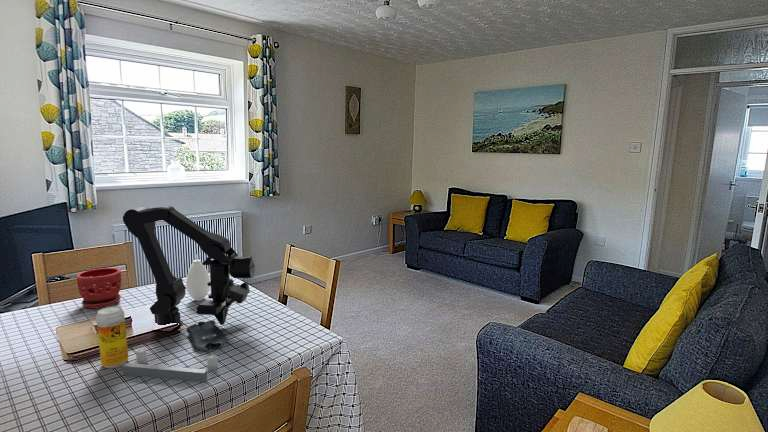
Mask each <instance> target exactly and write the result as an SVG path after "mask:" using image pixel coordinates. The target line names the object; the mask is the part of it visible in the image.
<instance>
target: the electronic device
mask: <svg viewBox="0 0 768 432" xmlns="http://www.w3.org/2000/svg"><path fill="white" fill-rule="evenodd" d="M185 332H187V333H188V336H189V338H190V339H191V341H192V346H193V347H194V349H195V350H198V351H199V352H200V351H201V352H202V351H203V352H207V351H209V352H212V351H214V350H217V349H220V348H221V347H223V346H224V345H225V344H226V343H227V341H228V340H227V335H226V333H225V332H224V331H223V330H222V329H221V328H220V327H219V326H217V325H216V321H215V320H213V319H212V320H209V321H206V322H205V321H204V320H203V321H198V322H197V323H193V324H191V325H188V326H187V327H186V331H185ZM218 344H220V346H218V347H215V346H217V345H218ZM213 347H215V348H213ZM208 348H211V349H208ZM212 348H213V349H212Z"/></svg>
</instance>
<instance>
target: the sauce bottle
mask: <svg viewBox="0 0 768 432" xmlns="http://www.w3.org/2000/svg"><path fill="white" fill-rule="evenodd" d="M202 263H203V262H202V260H201V259H198V253H196V254H195V259H194V260H193V261H192V263H191V265H190V267H189V269H188V272H187V274H186V275H187V276H186V281H185V282H186V290H187V291H186V292H187V293H188V295H189V296H190V298H191V299H193V300H194V301H198V302H200V301H203V300H204V299H205V298H206V297H207V296H208V295H209V292H210V290H211V286H208V282H210V274H209V272H208V270H207V268H206V267H205V266H206V265H202Z"/></svg>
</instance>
